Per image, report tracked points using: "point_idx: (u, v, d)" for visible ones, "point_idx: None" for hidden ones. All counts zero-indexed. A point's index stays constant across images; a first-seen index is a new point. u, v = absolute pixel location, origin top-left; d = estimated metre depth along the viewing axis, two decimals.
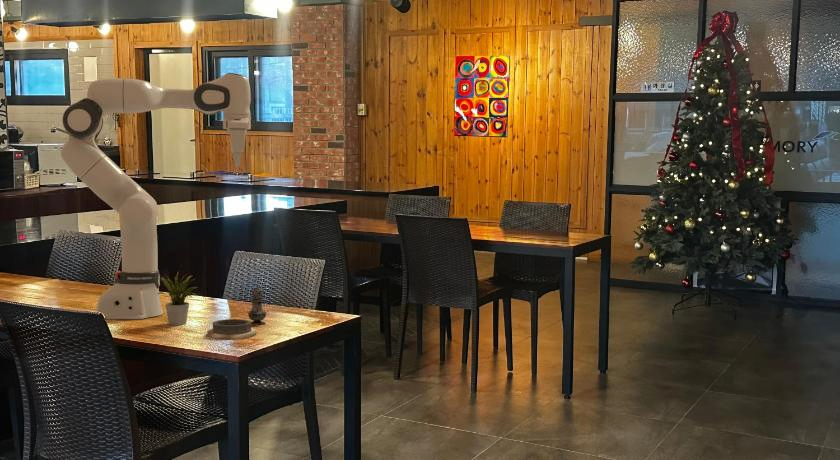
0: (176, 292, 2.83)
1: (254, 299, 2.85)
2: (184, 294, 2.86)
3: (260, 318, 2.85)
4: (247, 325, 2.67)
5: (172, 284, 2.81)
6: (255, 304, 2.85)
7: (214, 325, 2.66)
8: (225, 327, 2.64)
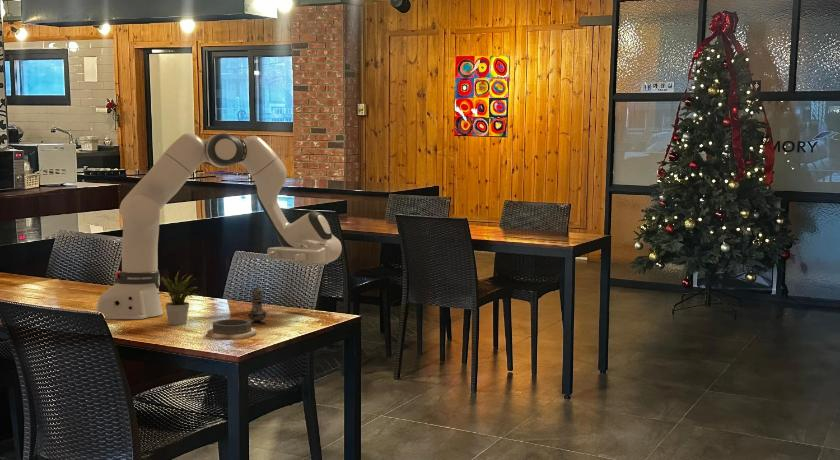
0: (176, 292, 2.83)
1: (254, 299, 2.85)
2: (184, 294, 2.86)
3: (260, 318, 2.85)
4: (247, 325, 2.67)
5: (172, 284, 2.81)
6: (255, 304, 2.85)
7: (214, 325, 2.66)
8: (225, 327, 2.64)
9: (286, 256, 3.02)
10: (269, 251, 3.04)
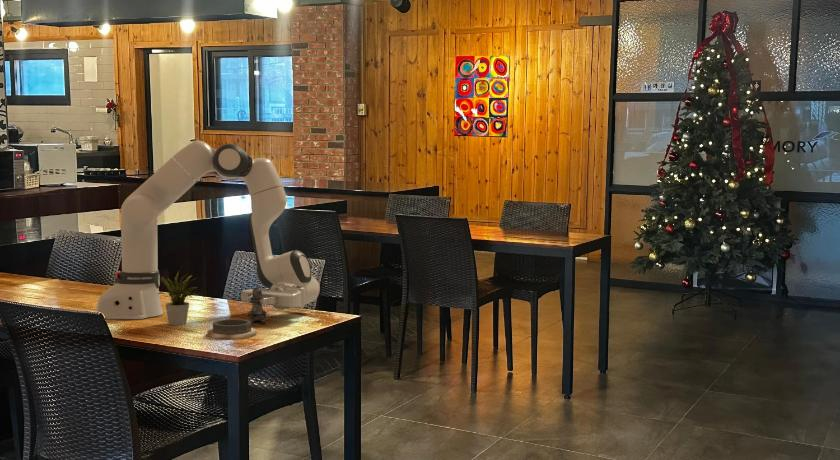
0: (176, 292, 2.83)
1: (254, 299, 2.85)
2: (184, 294, 2.86)
3: (260, 318, 2.85)
4: (247, 325, 2.67)
5: (172, 284, 2.81)
6: (255, 304, 2.85)
7: (214, 325, 2.66)
8: (225, 327, 2.64)
9: None
10: (243, 294, 2.94)
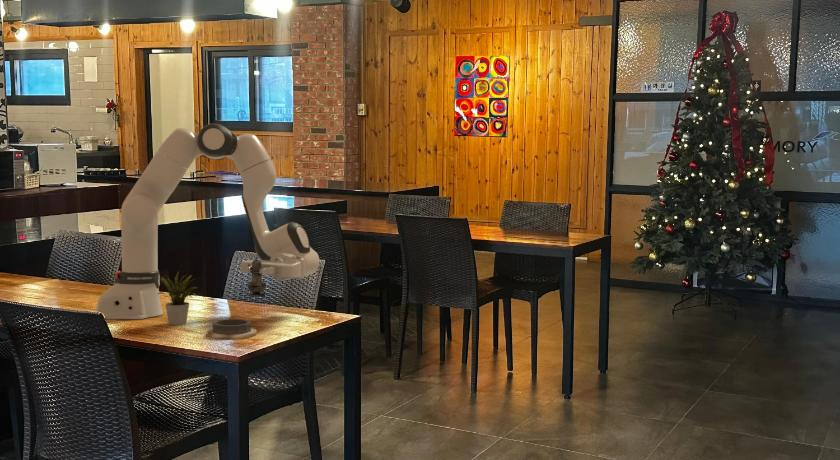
0: (176, 292, 2.83)
1: (254, 270, 2.85)
2: (184, 294, 2.86)
3: (260, 289, 2.84)
4: (247, 325, 2.67)
5: (172, 284, 2.81)
6: (254, 275, 2.85)
7: (214, 325, 2.66)
8: (225, 327, 2.64)
9: None
10: (243, 264, 2.93)
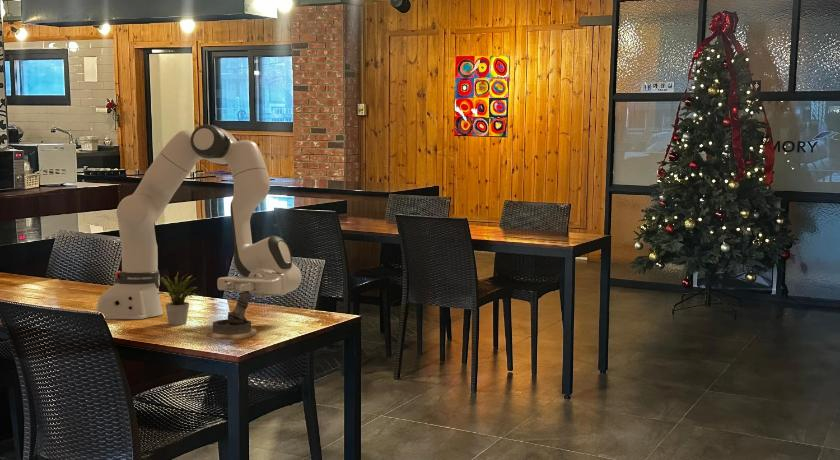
0: (176, 292, 2.83)
1: (241, 301, 2.69)
2: (184, 294, 2.86)
3: (239, 323, 2.68)
4: (247, 325, 2.67)
5: (172, 284, 2.81)
6: (239, 307, 2.69)
7: (214, 325, 2.66)
8: (225, 327, 2.64)
9: None
10: (219, 281, 2.76)
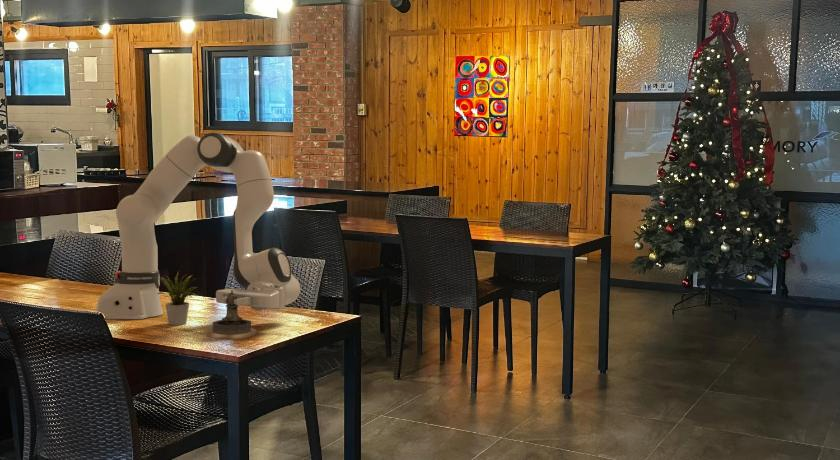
0: (176, 292, 2.83)
1: (229, 305, 2.68)
2: (184, 294, 2.86)
3: None
4: (247, 325, 2.67)
5: (172, 284, 2.81)
6: (230, 310, 2.68)
7: (214, 325, 2.66)
8: (225, 327, 2.64)
9: None
10: (218, 294, 2.76)
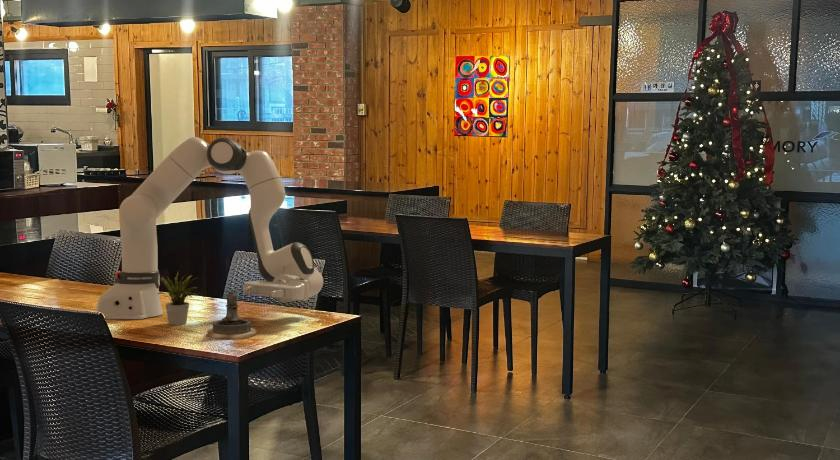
0: (176, 292, 2.83)
1: (229, 305, 2.68)
2: (184, 294, 2.86)
3: None
4: (247, 325, 2.67)
5: (172, 284, 2.81)
6: (230, 310, 2.68)
7: (214, 325, 2.66)
8: (225, 327, 2.64)
9: (263, 292, 2.85)
10: (245, 286, 2.88)
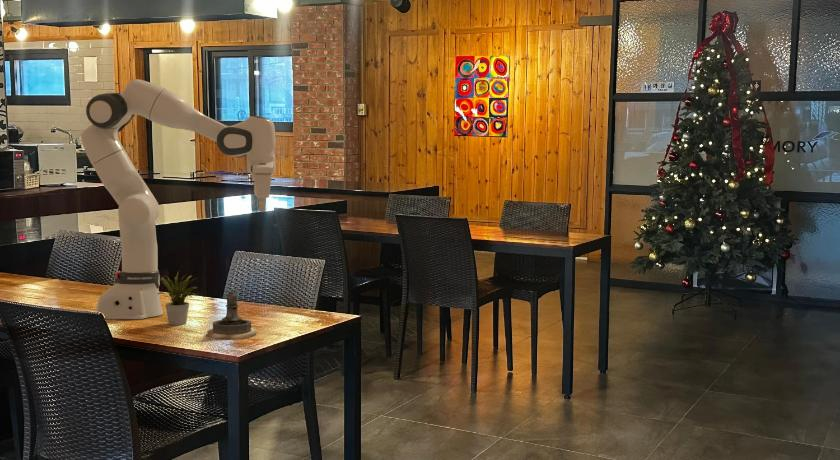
0: (176, 292, 2.83)
1: (229, 305, 2.68)
2: (184, 294, 2.86)
3: None
4: (247, 325, 2.67)
5: (172, 284, 2.81)
6: (230, 310, 2.68)
7: (214, 325, 2.66)
8: (225, 327, 2.64)
9: None
10: None
